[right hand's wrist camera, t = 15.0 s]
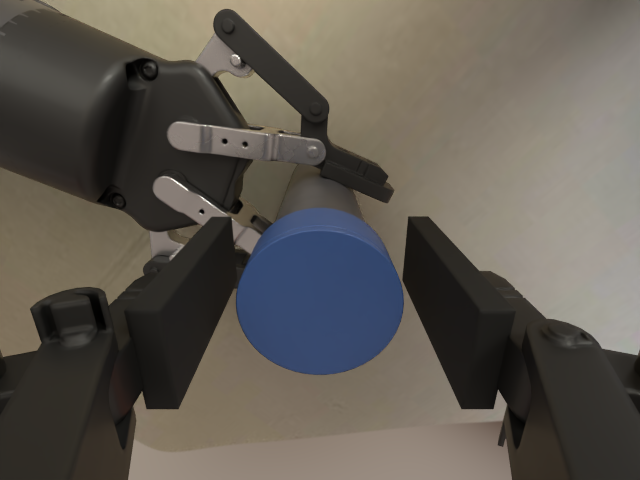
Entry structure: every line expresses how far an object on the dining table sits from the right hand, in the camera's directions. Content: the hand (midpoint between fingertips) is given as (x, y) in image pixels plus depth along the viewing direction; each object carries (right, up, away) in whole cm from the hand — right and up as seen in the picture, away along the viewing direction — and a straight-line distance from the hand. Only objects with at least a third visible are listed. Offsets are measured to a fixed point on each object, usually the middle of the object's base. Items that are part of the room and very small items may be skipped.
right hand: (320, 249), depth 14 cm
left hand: (+2, +1, +5) cm, 6 cm away
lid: (0, -1, -4) cm, 4 cm away
